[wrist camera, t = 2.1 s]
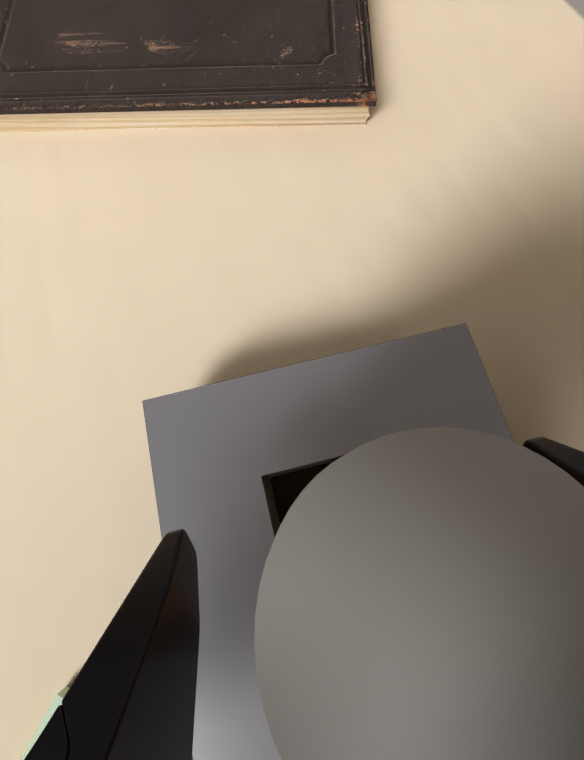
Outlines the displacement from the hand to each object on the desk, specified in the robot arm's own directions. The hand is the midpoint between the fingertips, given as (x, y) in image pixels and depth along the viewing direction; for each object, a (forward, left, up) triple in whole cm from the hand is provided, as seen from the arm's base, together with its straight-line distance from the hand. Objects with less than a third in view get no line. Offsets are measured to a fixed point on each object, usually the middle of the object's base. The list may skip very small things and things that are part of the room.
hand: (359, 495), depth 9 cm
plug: (-1, +1, -7) cm, 7 cm away
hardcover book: (+20, -21, -8) cm, 30 cm away
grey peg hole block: (-1, +1, -7) cm, 7 cm away
